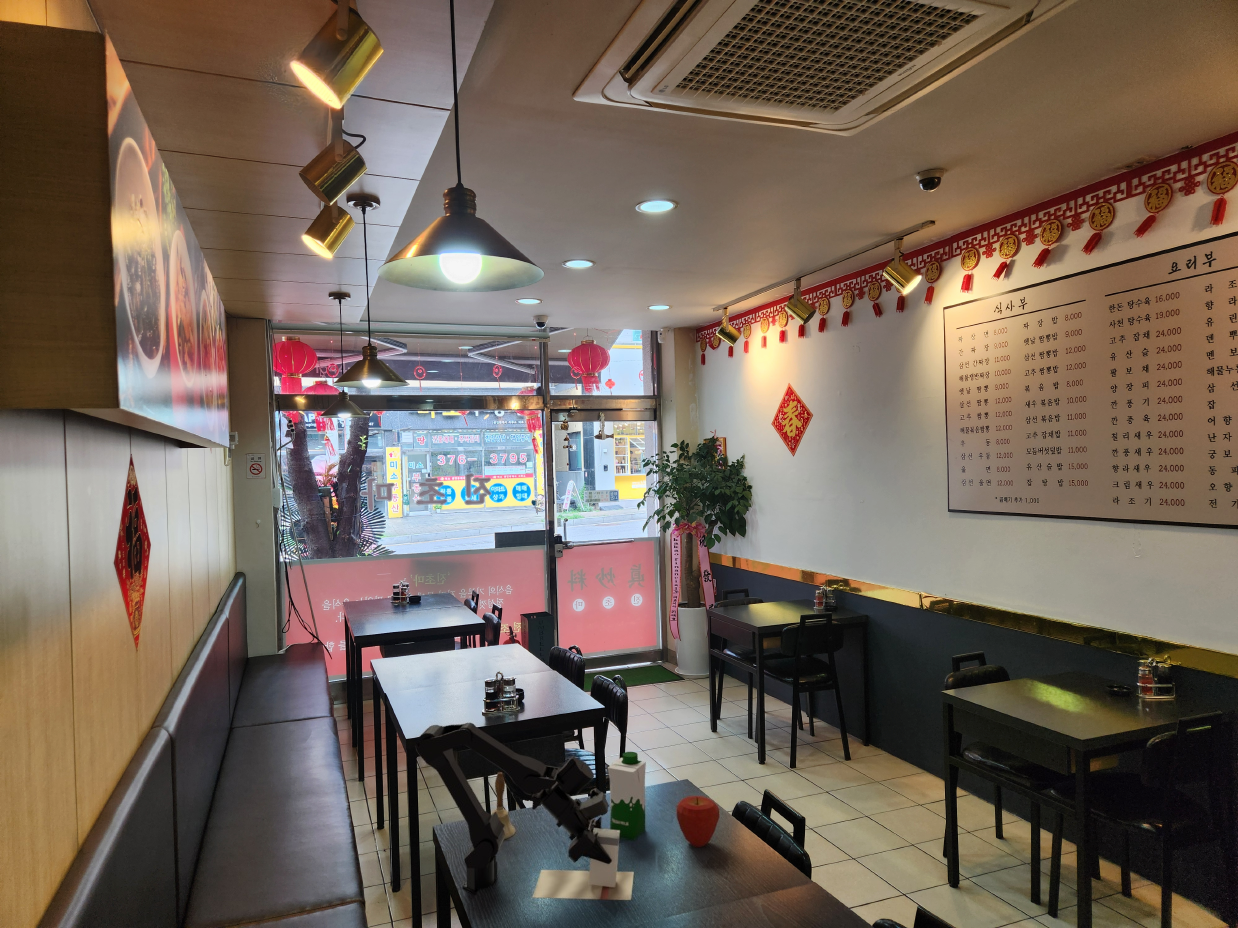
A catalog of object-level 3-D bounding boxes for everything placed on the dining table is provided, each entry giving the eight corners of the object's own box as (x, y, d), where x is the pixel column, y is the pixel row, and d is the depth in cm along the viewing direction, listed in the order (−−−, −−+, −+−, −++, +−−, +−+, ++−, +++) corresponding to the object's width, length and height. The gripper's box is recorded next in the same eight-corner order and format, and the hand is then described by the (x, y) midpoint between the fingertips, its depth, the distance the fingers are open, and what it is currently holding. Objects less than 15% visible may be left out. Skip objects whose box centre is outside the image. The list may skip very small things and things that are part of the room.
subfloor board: (532, 901, 172) (532, 896, 172) (541, 873, 184) (541, 869, 184) (630, 904, 170) (630, 899, 170) (633, 875, 182) (633, 871, 182)
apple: (727, 849, 195) (726, 801, 195) (689, 857, 191) (688, 808, 191) (706, 830, 205) (705, 785, 205) (670, 838, 201) (669, 791, 201)
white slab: (588, 884, 175) (591, 835, 175) (590, 874, 179) (593, 827, 179) (615, 887, 175) (618, 838, 175) (616, 877, 179) (619, 830, 179)
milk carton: (649, 828, 207) (648, 753, 207) (634, 843, 199) (633, 765, 199) (620, 822, 211) (619, 748, 211) (604, 836, 203) (603, 759, 203)
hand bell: (518, 825, 209) (517, 766, 210) (511, 840, 201) (510, 778, 201) (488, 825, 210) (488, 766, 210) (480, 839, 202) (479, 778, 202)
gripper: (582, 800, 168) (633, 853, 167) (592, 768, 187) (638, 815, 186) (547, 836, 169) (597, 888, 168) (559, 800, 187) (605, 847, 186)
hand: (611, 857), depth 177 cm, fingers closed on white slab, 4 cm apart
